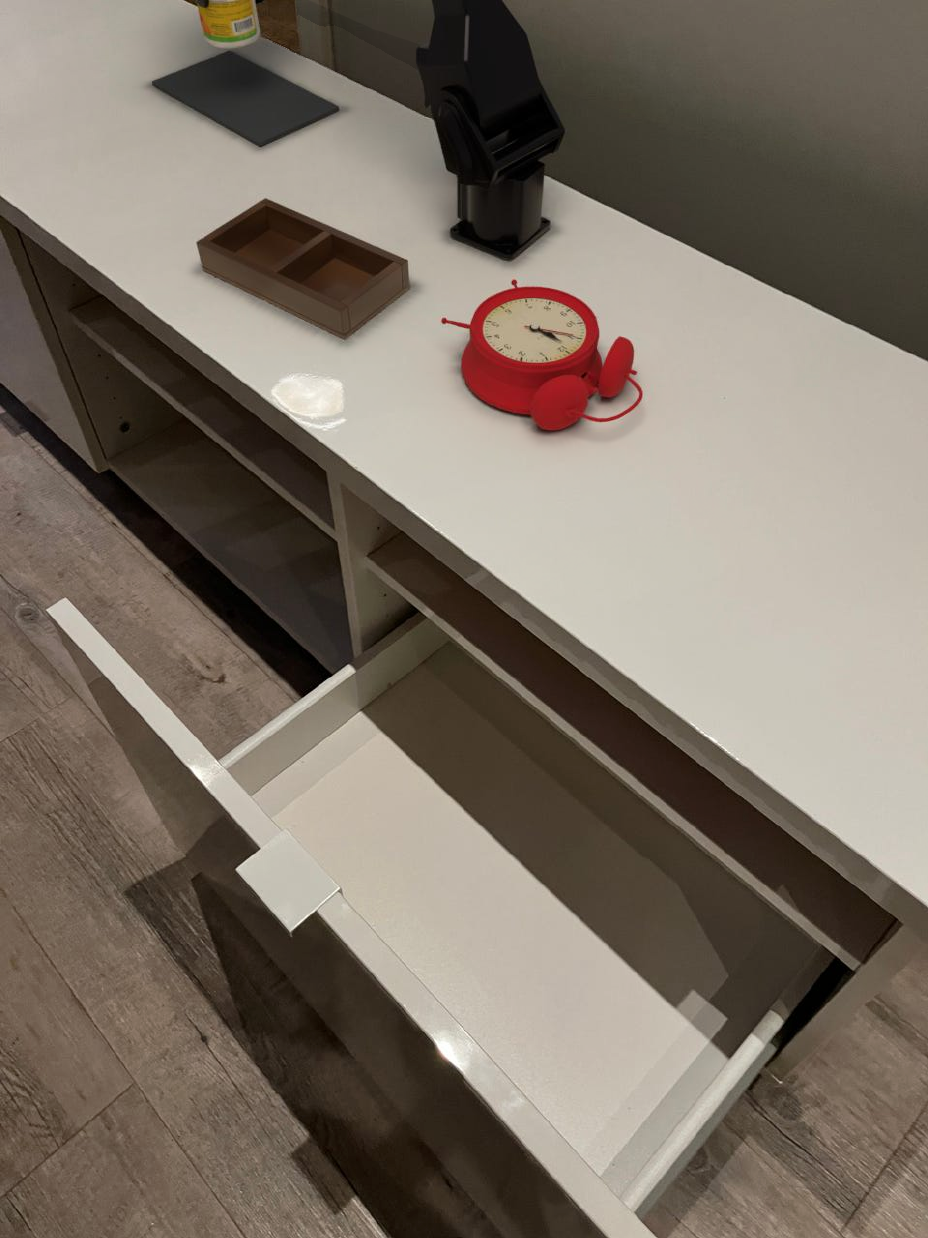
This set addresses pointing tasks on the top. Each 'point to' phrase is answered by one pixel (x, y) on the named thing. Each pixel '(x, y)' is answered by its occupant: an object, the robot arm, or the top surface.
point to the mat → (245, 97)
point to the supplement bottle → (230, 23)
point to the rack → (304, 267)
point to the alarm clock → (542, 356)
